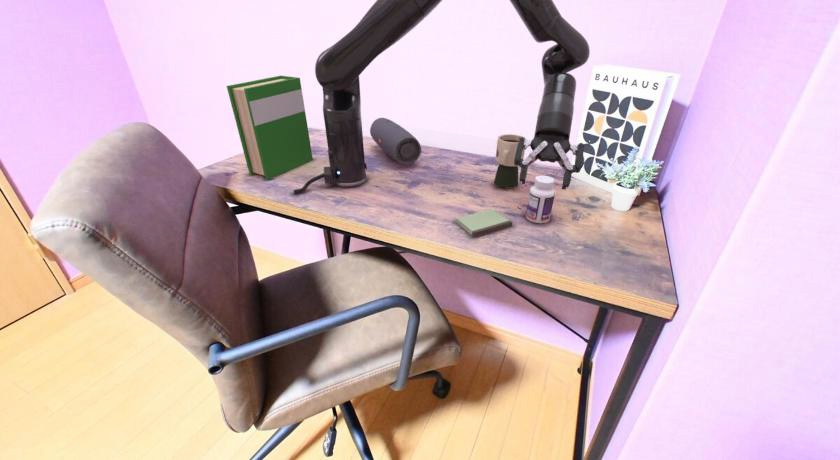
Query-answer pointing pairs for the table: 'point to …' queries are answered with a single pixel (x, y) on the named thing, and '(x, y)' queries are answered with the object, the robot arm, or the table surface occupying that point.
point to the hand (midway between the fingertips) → (543, 185)
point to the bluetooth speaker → (395, 141)
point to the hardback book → (271, 124)
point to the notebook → (483, 222)
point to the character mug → (507, 161)
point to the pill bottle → (540, 200)
